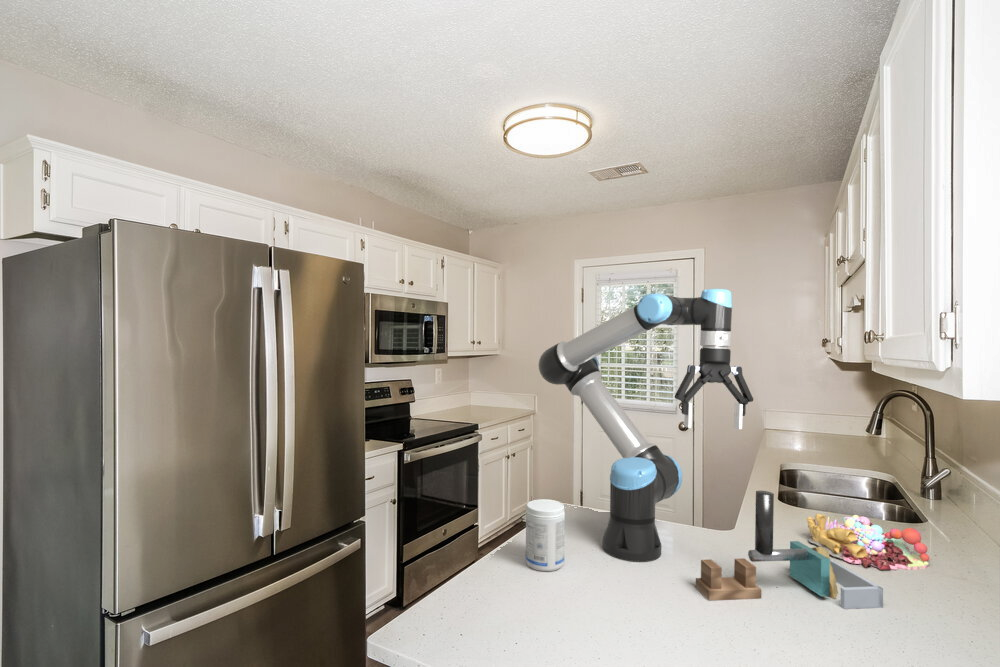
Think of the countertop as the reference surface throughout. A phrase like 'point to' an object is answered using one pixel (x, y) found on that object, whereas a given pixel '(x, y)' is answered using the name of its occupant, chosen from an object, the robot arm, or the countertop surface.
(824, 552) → the rock
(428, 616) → the countertop surface
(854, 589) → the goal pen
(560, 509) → the supplement tub
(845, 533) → the colorful coral reef
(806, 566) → the lever handle
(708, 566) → the rod stand
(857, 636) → the countertop surface
